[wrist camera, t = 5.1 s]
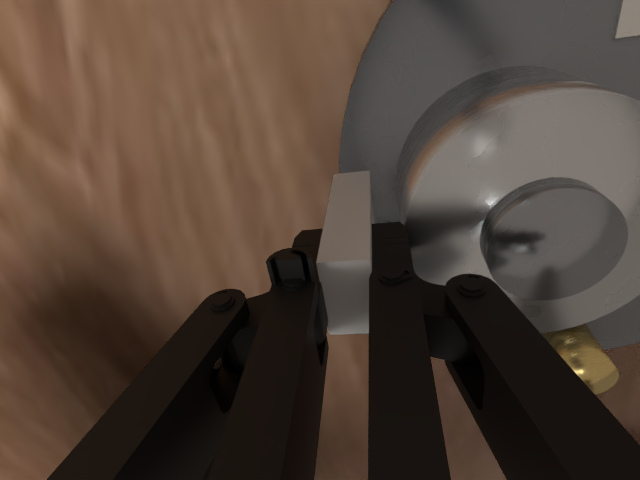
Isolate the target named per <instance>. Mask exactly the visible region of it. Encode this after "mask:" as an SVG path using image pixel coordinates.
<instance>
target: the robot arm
mask: <svg viewBox="0 0 640 480" xmlns="http://www.w3.org/2000/svg"><path fill="white" fill-rule="evenodd" d="M266 264H267V268H268V272H269V275H270V279H271V283H272V286H271V289H270V291H269V292H267V293H265V294H262V295H259V296H255V297H252V298H248V299H246V297H245V294H244V293H243V292H242V291H240V290H237V289H225V290H221V291H218V292H216V293H214V294H212V295H210V296H209V297H207V298H206V299H205V300H204V301H203V302H202V303H201V304H200V305H199V307H198V308H197V309H196V310H195V311H194V312H193V313H192V315H191V316H190V317H189V318H188V319H187V320H186V321H185V322H184V324H183V325H182V326H181V327H180V328H179V329H178V330H177V332H176V333H175V334H174V335H173V336H172V337H171V338H170V340H169V341H168V342H167V343H166V344H165V345H164V346H163V348H162V349H161V350H160V351H159V352H158V353H157V354H156V356H155V357H154V358H153V359H152V360H151V361H150V362H149V364H148V365H147V366H146V367H145V368H144V369H143V370H142V372H141V373H140V374H139V375H138V376H137V377H136V378H135V380H134V381H133V382H132V383H131V384H130V385H129V386H128V387H127V389H126V390H125V391H124V392H123V393H122V394H121V395H120V397H119V398H118V399H117V400H116V401H115V402H114V403H113V405H112V406H111V407H110V408H109V409H108V410H107V411H106V413H105V414H104V415H103V416H102V417H101V418H100V419H99V421H98V422H97V423H96V424H95V425H94V426H93V427H92V429H91V430H90V431H89V432H88V433H87V434H86V435H85V437H84V438H83V439H82V440H81V441H80V442H79V443H78V445H77V446H76V447H75V448H74V449H73V450H72V451H71V452H70V454H69V455H68V456H67V457H66V458H65V459H64V460H63V462H62V463H61V464H60V465H59V466H58V467H57V468H56V470H55V471H54V472H53V473H52V474H51V475H50V476H49V478H48V479H47V480H314V474H315V465H316V456H317V447H318V438H319V429H320V420H321V411H322V402H323V393H324V384H325V375H326V366H327V357H328V348H329V347H328V341H327V336H326V333H327V325H328V329H329V334H330V335H339V334H366V333H369V428H368V480H451V478H450V472H449V466H448V460H447V454H446V448H445V442H444V436H443V430H442V424H441V418H440V412H439V406H438V400H437V394H436V388H435V382H434V376H433V370H432V364H431V358H430V356H431V357H435V358H439V359H444V360H445V363H446V366H447V368H448V370H449V372H450V374H451V376H452V378H453V379H454V381H455V383H456V385H457V387H458V389H459V391H460V393H461V394H462V396H463V398H464V400H465V402H466V404H467V406H468V408H469V409H470V411H471V413H472V415H473V417H474V419H475V421H476V423H477V424H478V426H479V428H480V430H481V432H482V434H483V436H484V438H485V439H486V441H487V443H488V445H489V447H490V449H491V451H492V453H493V454H494V456H495V458H496V460H497V462H498V464H499V466H500V468H501V469H502V471H503V473H504V475H505V477H506V479H507V480H640V445H639V444H638V443H637V442H636V441H635V439H634V438H633V437H632V436H631V435H630V434H629V433H628V432H627V430H626V429H625V428H624V427H623V426H622V425H621V424H620V423H619V421H618V420H617V419H616V418H615V417H614V416H613V415H612V413H611V412H610V411H609V410H608V409H607V408H606V407H605V406H604V404H603V403H602V402H601V401H600V400H599V399H598V398H597V397H596V395H595V394H594V393H593V392H592V391H591V390H590V389H589V388H588V386H587V385H586V384H585V383H584V382H583V381H582V380H581V378H580V377H579V376H578V375H577V374H576V373H575V372H574V371H573V369H572V368H571V367H570V366H569V365H568V364H567V363H566V362H565V360H564V359H563V358H562V357H561V356H560V355H559V354H558V352H557V351H556V350H555V349H554V348H553V347H552V346H551V345H550V343H549V342H548V341H547V340H546V339H545V338H544V337H543V336H542V334H541V333H540V332H539V331H538V330H537V329H536V328H535V326H534V325H533V324H532V323H531V322H530V321H529V320H528V319H527V317H526V316H525V315H524V314H523V313H522V312H521V311H520V310H519V308H518V307H517V306H516V305H515V304H514V303H513V302H512V301H511V299H510V298H509V297H508V296H507V295H506V294H505V293H504V291H503V290H502V289H501V288H500V287H499V286H498V285H497V284H496V283H495V282H494V281H493V280H491V279H490V278H488V277H485V276H482V275H478V274H471V273H470V274H460V275H457V276H454V277H452V278H451V279H450V280H448V281H447V283H446V286H445V285H438V284H433V283H429V282H427V281H424V280H423V279H421V278H420V277H418V276H417V274H416V273H415V271H414V268H413V262H412V256H411V250H410V244H409V238H408V232H407V228H406V227H405V226H404V225H403V224H402V223H401V222H387V223H375V222H374V211H373V201H372V190H371V179H370V170H369V171H359V172H350V173H340V174H334V175H333V180H332V185H331V190H330V195H329V200H328V206H327V211H326V216H325V221H324V226H323V229H314V230H302V231H301V232H300V233H299V234H298V235H297V236H296V237H295V239H294V242H293V245H292V248H287V249H282V250H280V251H277V252H275V253H274V254H272V255H271V256H270V257H269V258H268V259H267V261H266ZM218 359H219V360H218ZM217 361H218V362H217ZM216 362H217V363H216ZM215 364H216V365H215Z"/></svg>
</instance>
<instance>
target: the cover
mask: <svg viewBox="0 0 640 480" xmlns="http://www.w3.org/2000/svg"><path fill="white" fill-rule="evenodd" d="M396 194H397V201H398V208H399V214H400V221H401V223H402V224H403V225H404V226H405V227H406V228H407V232H408V238H409V244H410V250H411V256H412V262H413V268H414V271H415V273H416V274H417V276H418V277H420V278H421V279H423V280H424V281H427V282H429V283H433V284H438V285H445V286H446V283H447V281H448V280H450V279H451V278H452V277H454V276H457V275H460V274H470V273H471V274H478V275H482V276H485V277H488V278H490V279H491V280H493V281H494V282H495V283H496V284H497V285H498V286H499V287H500V288H501V289H502V290H503V291H504V293H505V294H506V295H507V296H508V297H509V298H510V299H511V301H512V302H513V303H514V304H515V305H516V306H517V307H518V308H519V310H520V311H521V312H522V313H523V314H524V315H525V316H526V317H527V319H528V320H529V321H530V322H531V323H532V324H533V325H534V326H535V328H536V329H537V330H538V331H539V332H540V333H547V332H553V331H559V330H563V329H567V328H571V327H575V326H579V325H581V324H584V323H587V322H590V321H593V320H595V319H598V318H600V317H602V316H604V315H607V314H609V313H611V312H613V311H615V310H616V309H618V308H620V307H622V306H624V305H625V304H627V303H628V302H630V301H631V300H633V299H634V298H636V297H637V296H639V295H640V101H639V100H636V99H634V98H631V97H628V96H626V95H623V94H620V93H618V92H615V91H612V90H610V89H607V88H604V87H602V86H599V85H596V84H593V83H591V82H588V81H585V80H583V79H580V78H577V77H575V76H572V75H569V74H567V73H564V72H561V71H559V70H555V69H550V68H546V67H540V66H511V67H505V68H500V69H495V70H491V71H488V72H485V73H482V74H479V75H477V76H474V77H472V78H470V79H468V80H466V81H464V82H462V83H460V84H458V85H457V86H455V87H454V88H452V89H450V90H449V91H447V92H446V93H445V94H444V95H442V96H441V97H440V98H438V99H437V100H436V101H435V102H434V103H433V104H432V105H431V106H430V107H429V108H428V109H427V110H426V111H425V112H424V113H423V114H422V116H421V117H420V118H419V119H418V121H417V122H416V123H415V125H414V126H413V128H412V130H411V131H410V133H409V134H408V136H407V138H406V141H405V143H404V145H403V147H402V150H401V153H400V156H399V159H398V164H397V170H396Z"/></svg>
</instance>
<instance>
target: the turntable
mask: <svg viewBox="0 0 640 480" xmlns="http://www.w3.org/2000/svg"><path fill="white" fill-rule="evenodd" d="M511 66H540V67H546V68H550V69H555V70H559V71H561V72H564V73H567V74H569V75H572V76H575V77H577V78H580V79H583V80H585V81H588V82H591V83H593V84H596V85H599V86H602V87H604V88H607V89H610V90H612V91H615V92H618V93H620V94H623V95H626V96H628V97H631V98H634V99H636V100H639V101H640V0H391V1H390V3H389V4H388V6H387V8H386V9H385V11H384V12H383V14H382V15H381V17H380V18H379V20H378V22H377V24H376V26H375V29H374V31H373V33H372V35H371V37H370V39H369V41H368V43H367V45H366V47H365V49H364V51H363V53H362V56H361V59H360V62H359V64H358V67H357V70H356V73H355V76H354V79H353V82H352V85H351V88H350V93H349V97H348V102H347V107H346V111H345V116H344V121H343V127H342V135H341V147H340V159H339V165H340V173H350V172H359V171H369V170H370V179H371V190H372V201H373V211H374V222H375V223H387V222H401V221H400V214H399V208H398V201H397V194H396V170H397V164H398V159H399V156H400V153H401V150H402V147H403V145H404V143H405V141H406V138H407V136H408V134H409V133H410V131H411V130H412V128H413V126H414V125H415V123H416V122H417V121H418V119H419V118H420V117H421V116H422V114H423V113H424V112H425V111H426V110H427V109H428V108H429V107H430V106H431V105H432V104H433V103H434V102H435V101H436V100H437V99H438V98H440V97H441V96H442V95H444V94H445V93H446V92H447V91H449V90H450V89H452V88H454V87H455V86H457V85H458V84H460V83H462V82H464V81H466V80H468V79H470V78H472V77H474V76H477V75H479V74H482V73H485V72H488V71H491V70H495V69H500V68H505V67H511ZM541 334H542V336H543V337H544V338H545V339H546V340H547V341H548V342H549V343H550V345H551V346H552V347H553V348H554V349H555V350H556V351H557V352H558V354H559V355H560V356H561V357H562V358H563V359H564V360H565V362H566V363H567V364H568V365H569V366H570V367H571V368H572V369H573V371H574V372H575V373H576V374H577V375H578V376H579V377H580V378H581V380H582V381H583V382H584V383H585V384H586V385H587V386H588V388H589V389H590V390H591V391H592V392H593V393H594V394H595V395H597V394H600V393H603V392H605V391H607V390H609V389H610V388H612V387H613V386H614V385H615V384H616V382H617V381H618V378H619V372H618V370H617V368H616V367H615V366H614V364H613V363H612V361H611V360H610V358H609V357H608V355H607V354H606V352H605V351H604V350H605V349H612V348H618V347H622V346H627V345H631V344H635V343H640V295H639V296H637V297H636V298H634V299H633V300H631V301H630V302H628V303H627V304H625V305H624V306H622V307H620V308H618V309H616V310H615V311H613V312H611V313H609V314H607V315H604V316H602V317H600V318H598V319H595V320H593V321H590V322H587V323H584V324H581V325H579V326H575V327H571V328H567V329H563V330H559V331H553V332H547V333H541Z"/></svg>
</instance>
